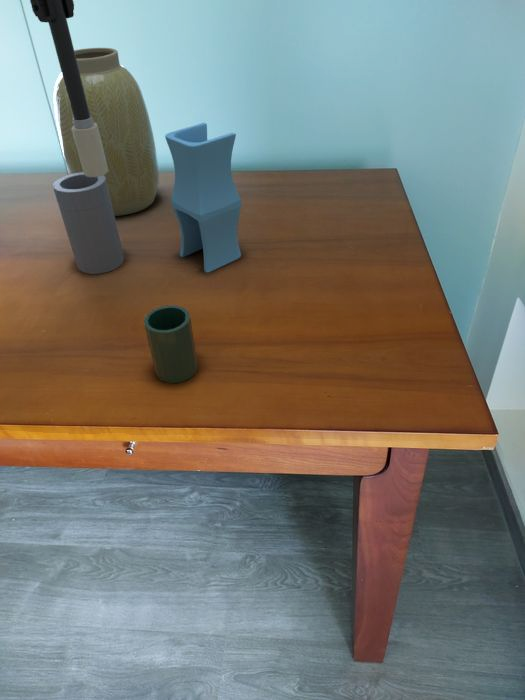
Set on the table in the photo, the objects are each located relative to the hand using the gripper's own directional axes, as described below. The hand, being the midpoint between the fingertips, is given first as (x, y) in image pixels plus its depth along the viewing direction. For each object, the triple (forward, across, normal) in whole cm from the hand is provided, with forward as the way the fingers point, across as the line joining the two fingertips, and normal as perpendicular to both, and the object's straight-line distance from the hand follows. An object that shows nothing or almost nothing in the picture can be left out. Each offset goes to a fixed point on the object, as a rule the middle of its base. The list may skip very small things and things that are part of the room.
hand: (56, 18), depth 59 cm
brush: (+18, 0, 0) cm, 18 cm away
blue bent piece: (+37, -15, +6) cm, 40 cm away
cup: (+36, -4, -10) cm, 38 cm away
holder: (+36, +11, +19) cm, 42 cm away
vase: (+37, -24, -23) cm, 50 cm away
